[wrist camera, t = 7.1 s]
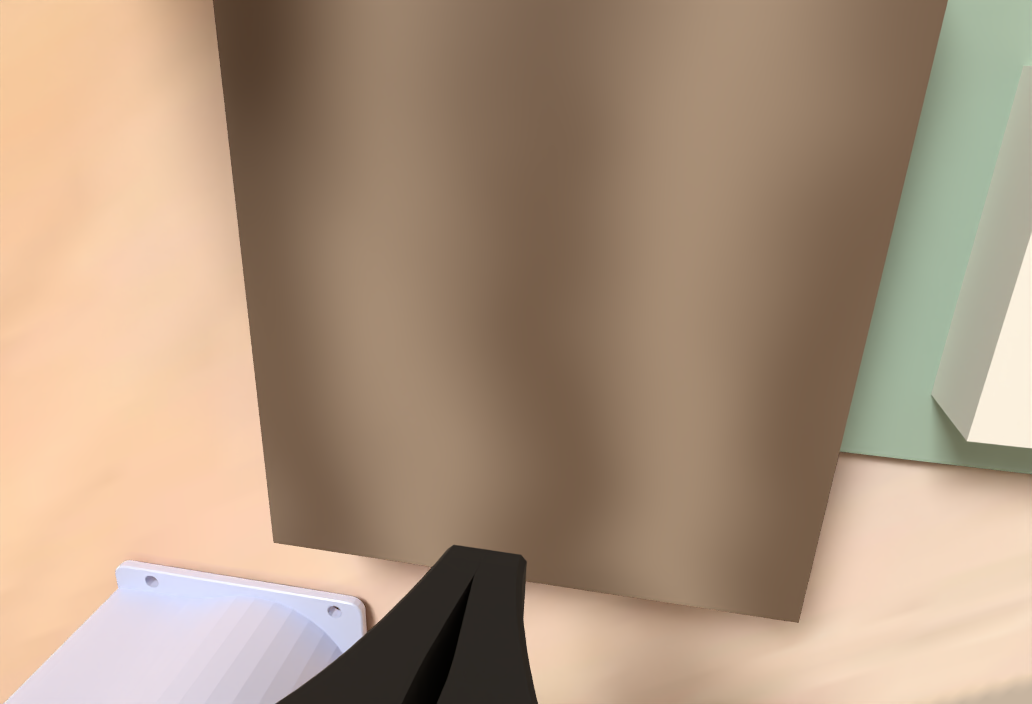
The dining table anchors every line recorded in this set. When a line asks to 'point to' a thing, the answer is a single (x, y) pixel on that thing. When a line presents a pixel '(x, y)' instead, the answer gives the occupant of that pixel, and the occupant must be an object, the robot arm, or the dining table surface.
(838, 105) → the brown flat block
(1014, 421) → the tile
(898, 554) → the dining table surface
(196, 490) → the dining table surface
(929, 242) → the mat
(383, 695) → the robot arm
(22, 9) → the dining table surface
